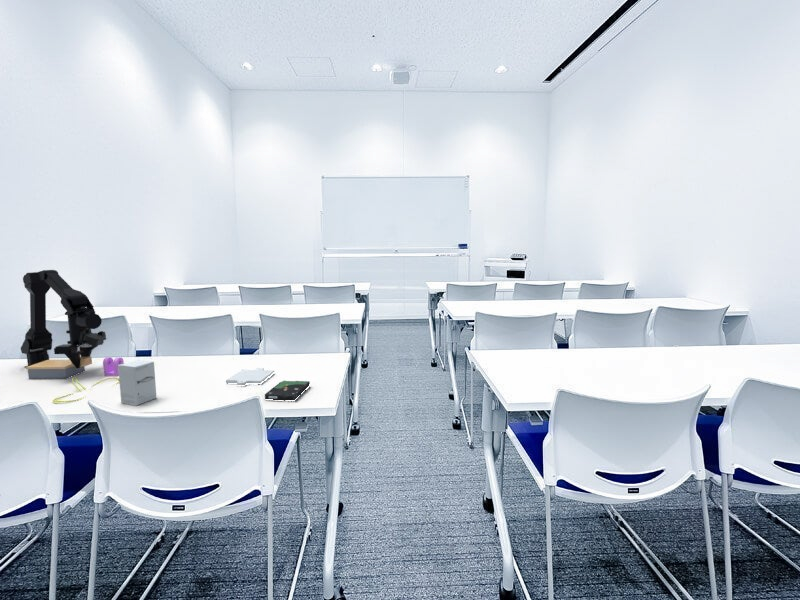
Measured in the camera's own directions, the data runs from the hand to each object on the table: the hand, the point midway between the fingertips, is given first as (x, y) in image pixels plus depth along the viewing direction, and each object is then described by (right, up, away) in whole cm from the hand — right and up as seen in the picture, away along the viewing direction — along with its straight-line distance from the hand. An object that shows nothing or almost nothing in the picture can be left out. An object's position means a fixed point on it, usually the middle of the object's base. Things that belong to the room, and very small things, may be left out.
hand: (82, 366), depth 168 cm
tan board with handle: (-7, +1, 0) cm, 7 cm away
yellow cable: (+14, -6, -17) cm, 23 cm away
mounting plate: (+67, -5, -5) cm, 68 cm away
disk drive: (+85, -7, -21) cm, 88 cm away
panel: (-10, -3, 0) cm, 10 cm away
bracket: (+12, -3, +6) cm, 14 cm away
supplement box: (+38, -7, -27) cm, 48 cm away
